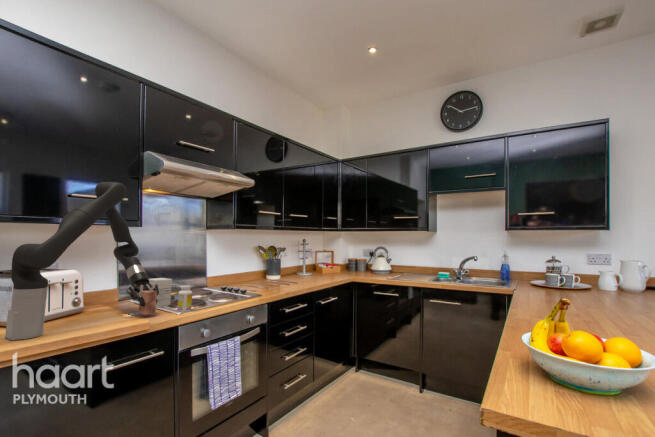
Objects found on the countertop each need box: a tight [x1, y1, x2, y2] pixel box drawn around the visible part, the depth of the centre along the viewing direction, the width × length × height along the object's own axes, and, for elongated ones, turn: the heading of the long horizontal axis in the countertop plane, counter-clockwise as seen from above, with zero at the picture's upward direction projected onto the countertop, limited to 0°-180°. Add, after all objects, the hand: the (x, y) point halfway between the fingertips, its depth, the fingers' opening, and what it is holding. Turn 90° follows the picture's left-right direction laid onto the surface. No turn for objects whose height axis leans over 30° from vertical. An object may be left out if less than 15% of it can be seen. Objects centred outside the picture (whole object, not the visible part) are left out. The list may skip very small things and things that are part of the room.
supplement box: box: [148, 277, 173, 309], centre depth 172 cm, size 9×9×15 cm
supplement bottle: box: [176, 284, 193, 313], centre depth 162 cm, size 7×7×13 cm
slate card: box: [124, 310, 144, 317], centre depth 151 cm, size 12×10×1 cm
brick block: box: [138, 290, 157, 316], centre depth 147 cm, size 5×5×10 cm
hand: (150, 304), depth 146 cm, fingers closed on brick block, 5 cm apart
